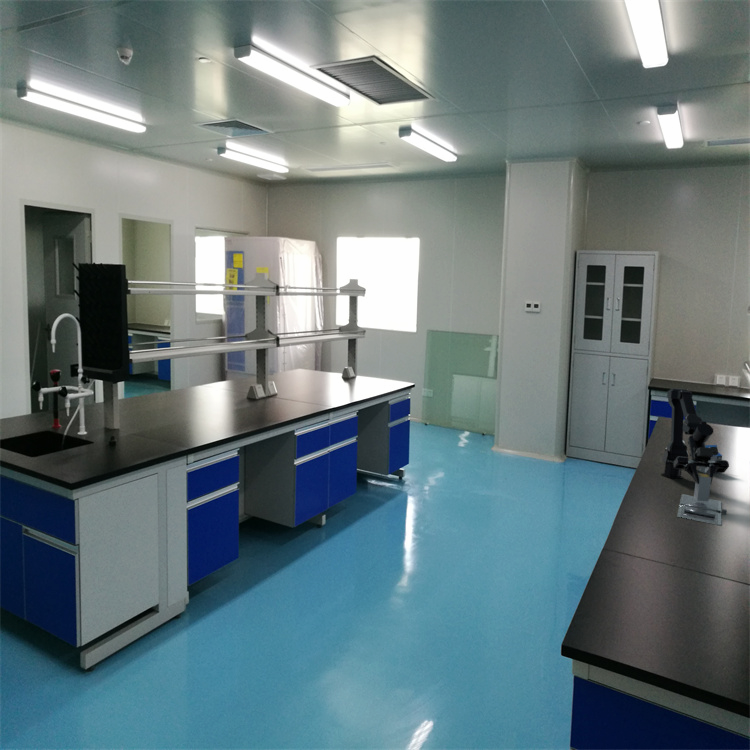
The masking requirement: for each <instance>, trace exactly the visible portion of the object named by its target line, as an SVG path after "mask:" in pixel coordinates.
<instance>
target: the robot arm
mask: <svg viewBox="0 0 750 750" xmlns="http://www.w3.org/2000/svg"><path fill="white" fill-rule="evenodd" d="M666 397H667V402H668V404H669V406H670V407H671V429H670V431H671V432H670V442H669V443H668V444H667V446H666V448H667V450H666V451H665V450H664V453H663V455H662V457H661V459H662V462H663V463H664V472H663V473H661V475H662V476H665V477H667V478H669V479H673V480H674V479H675V480H677V479H684V476H682V470H683V471H684V472H686V473H688V474H689V475H690V477H691V478H692V479H693V480H694V481H695V483H697V484H699V478H698V474H699V473H698V470H697V467H698V468H699V467H707V468H708V470H707V472H706V473H705V474H707V475H709V476H710V477H711V484H712V483H713V477H714V474H716V473H715V472H718V474H719V473H720V474H723V473H725V472H726V471H727V470H728V468H729V467H730V463H729V461H728V460H726V459H722V460H716V461H715V463H711V462H708V460H711V457H713V455H714V456H716V455H718V452H719V449H718V446H717V447H711V448H710V447H709V448H706V446H705V445H706V443H707V442H708V441H709V439H710V438H711V437H712V435H713V434H714V428H713V427H712V426H711V425H710V424H708V423H707V421H703V418H701V417H700V416H698V413H697V409H696V406H695V403H694V398H693V392H692V391H690V390H687V389H686V388H676V387H675V388H673V387H671V388H670V389H669V390H667V393H666ZM684 434H685V435H689V437H688V440H687V445H688V446H689V452H690V453H689V452H688V453H687V451H688V446H687V445H686V444H684V443H683V441H684ZM689 456H690V458H691V459H689ZM684 465H685V466H684Z"/></svg>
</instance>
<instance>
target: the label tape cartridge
mask: <svg viewBox="0 0 750 750" xmlns="http://www.w3.org/2000/svg"><path fill="white" fill-rule="evenodd" d="M705 446H706V448H711V447H717V448H718V445H717V444H707V445H706V444H705ZM716 460H723V455H722V454H721V453H720V452H719V451H718V455H716V456H714V455H713V457H711V460H708V462H711V463H715V461H716ZM707 470H708V468H707V467H698V470H697V472H699V473H701V474H706V472H707ZM717 473H718V472H715V473H714V474H717ZM718 474H719V473H718Z"/></svg>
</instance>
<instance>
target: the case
mask: <svg viewBox="0 0 750 750" xmlns="http://www.w3.org/2000/svg"><path fill="white" fill-rule="evenodd" d="M727 512H728V510H727V509H726V508H722V501H721V500H717V499H716V500H715V499H710V498H709V500H708V501H698V500H696V499H695V498H694V495H689V494H683V493H681V495H680V499H679V504H678V510H677V514H676V517H677V518H681V517H682V519H686V518H687V520H691V519H692V520H691V521H697V522H701V523H706V524H711V525H716V526H722V515H724V516H726V515H727V514H728V513H727Z"/></svg>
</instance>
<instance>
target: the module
mask: <svg viewBox="0 0 750 750" xmlns="http://www.w3.org/2000/svg"><path fill="white" fill-rule="evenodd" d="M697 474H698V478H699V484H697V483H696V482H695V485H694V493H693V496H694V498H695V499H696V500H698V501H708V500H709V499H710V493H711V491H710V490H711V486H712V483H711V477H710V476H709V475H707V474H706V473H697Z"/></svg>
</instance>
